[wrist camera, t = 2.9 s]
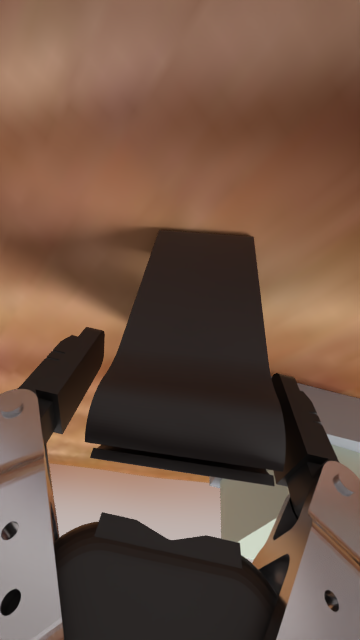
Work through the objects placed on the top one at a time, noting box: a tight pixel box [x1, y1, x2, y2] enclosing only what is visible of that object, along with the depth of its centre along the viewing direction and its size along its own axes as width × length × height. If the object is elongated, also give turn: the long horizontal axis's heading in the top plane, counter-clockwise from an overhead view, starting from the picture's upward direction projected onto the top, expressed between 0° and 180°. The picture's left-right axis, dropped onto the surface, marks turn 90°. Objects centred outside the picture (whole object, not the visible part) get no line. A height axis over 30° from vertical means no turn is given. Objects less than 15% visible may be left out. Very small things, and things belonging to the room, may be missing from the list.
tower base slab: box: [210, 376, 360, 488], centre depth 22 cm, size 12×12×5 cm
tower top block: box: [220, 444, 360, 560], centre depth 18 cm, size 10×10×5 cm
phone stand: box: [85, 230, 286, 486], centre depth 12 cm, size 9×6×12 cm, turn 177°
